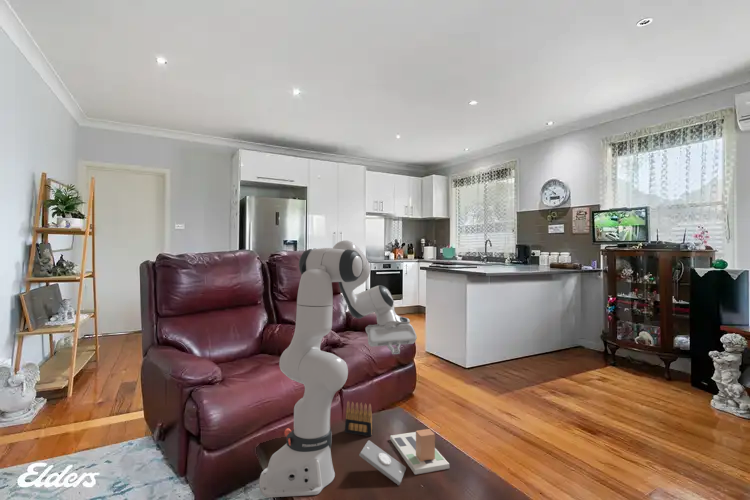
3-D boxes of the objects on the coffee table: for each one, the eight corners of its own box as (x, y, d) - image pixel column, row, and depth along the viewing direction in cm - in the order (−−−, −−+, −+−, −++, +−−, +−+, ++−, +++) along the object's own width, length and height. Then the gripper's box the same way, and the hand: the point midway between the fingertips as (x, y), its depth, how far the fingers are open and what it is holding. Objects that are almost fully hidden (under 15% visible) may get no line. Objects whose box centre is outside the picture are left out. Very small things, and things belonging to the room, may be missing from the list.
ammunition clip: (372, 434, 144) (373, 402, 144) (371, 436, 142) (371, 404, 142) (346, 430, 147) (346, 399, 147) (344, 432, 145) (345, 401, 145)
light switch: (402, 480, 112) (361, 450, 116) (392, 496, 113) (352, 465, 116) (408, 465, 120) (369, 437, 124) (399, 479, 121) (361, 451, 125)
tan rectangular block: (420, 461, 122) (420, 436, 122) (415, 454, 126) (415, 430, 126) (434, 458, 124) (434, 434, 124) (429, 452, 128) (429, 428, 128)
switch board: (414, 474, 118) (414, 469, 118) (390, 439, 140) (390, 435, 140) (449, 468, 121) (449, 463, 121) (420, 435, 143) (420, 430, 143)
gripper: (366, 320, 154) (372, 351, 144) (412, 318, 160) (422, 347, 150) (363, 329, 158) (369, 359, 148) (408, 327, 164) (417, 355, 154)
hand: (396, 353), depth 149 cm, fingers closed
